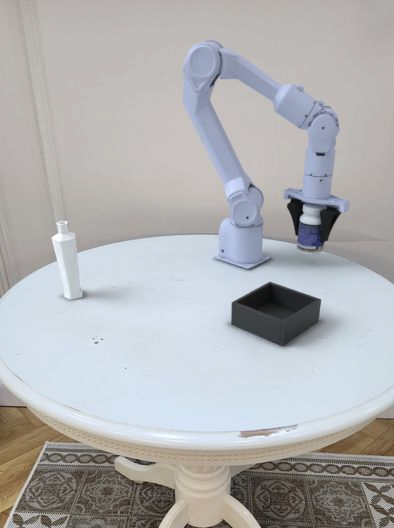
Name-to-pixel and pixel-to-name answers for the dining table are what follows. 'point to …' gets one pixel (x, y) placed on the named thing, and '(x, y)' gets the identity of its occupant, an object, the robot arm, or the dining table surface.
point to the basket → (275, 312)
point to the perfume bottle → (67, 260)
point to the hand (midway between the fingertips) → (311, 237)
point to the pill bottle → (310, 230)
